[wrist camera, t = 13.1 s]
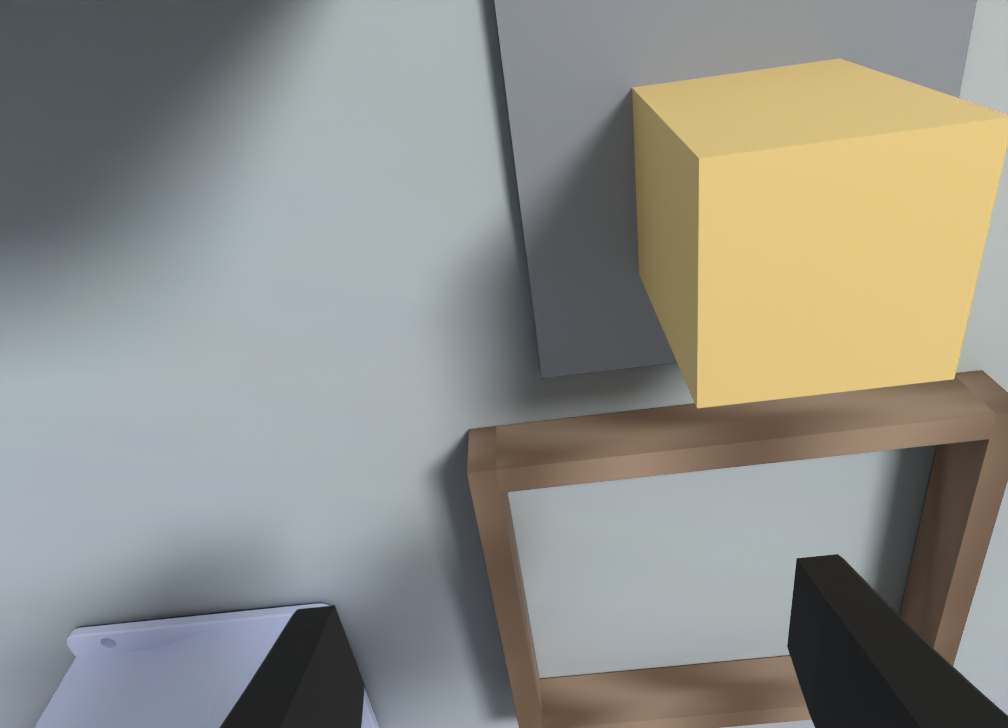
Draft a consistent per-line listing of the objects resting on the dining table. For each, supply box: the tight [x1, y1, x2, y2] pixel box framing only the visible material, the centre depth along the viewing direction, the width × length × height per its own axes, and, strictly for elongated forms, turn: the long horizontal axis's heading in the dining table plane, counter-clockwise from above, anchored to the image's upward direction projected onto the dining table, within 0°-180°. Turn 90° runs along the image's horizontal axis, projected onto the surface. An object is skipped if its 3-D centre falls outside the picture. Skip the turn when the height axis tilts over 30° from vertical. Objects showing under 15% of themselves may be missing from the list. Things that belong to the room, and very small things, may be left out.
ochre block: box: [632, 59, 1008, 408], centre depth 14 cm, size 4×4×6 cm
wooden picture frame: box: [467, 370, 1008, 728], centre depth 23 cm, size 15×13×2 cm
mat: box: [494, 0, 977, 379], centre depth 17 cm, size 10×10×1 cm
